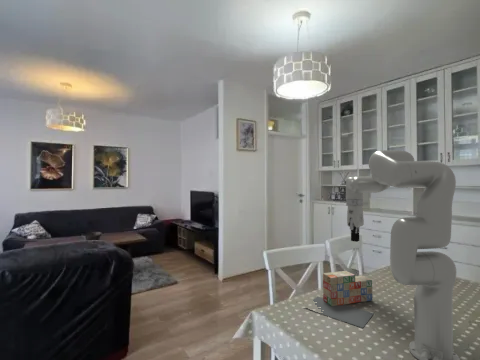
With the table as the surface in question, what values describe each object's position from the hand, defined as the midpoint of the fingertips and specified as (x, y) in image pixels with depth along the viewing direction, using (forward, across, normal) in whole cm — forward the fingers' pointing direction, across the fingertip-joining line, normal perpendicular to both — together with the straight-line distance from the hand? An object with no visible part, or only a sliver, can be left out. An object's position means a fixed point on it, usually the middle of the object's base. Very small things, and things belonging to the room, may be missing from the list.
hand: (355, 240), depth 127 cm
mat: (+25, -23, 0) cm, 34 cm away
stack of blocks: (+25, -11, 0) cm, 27 cm away
